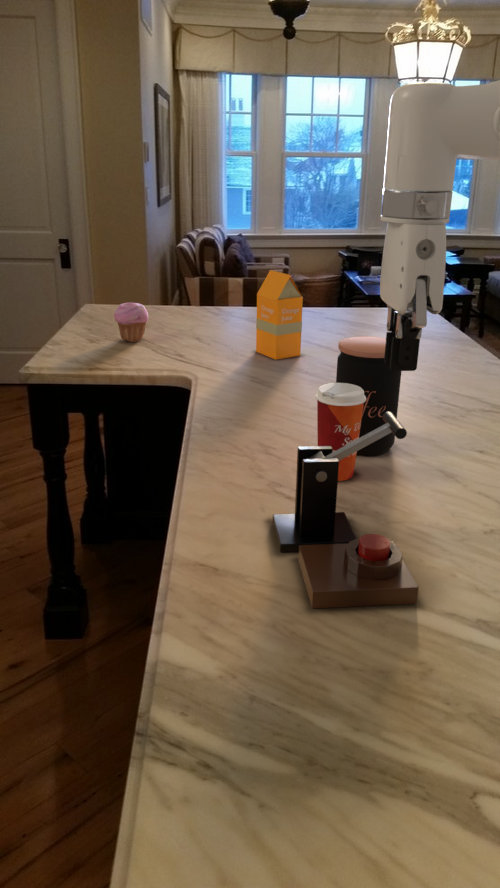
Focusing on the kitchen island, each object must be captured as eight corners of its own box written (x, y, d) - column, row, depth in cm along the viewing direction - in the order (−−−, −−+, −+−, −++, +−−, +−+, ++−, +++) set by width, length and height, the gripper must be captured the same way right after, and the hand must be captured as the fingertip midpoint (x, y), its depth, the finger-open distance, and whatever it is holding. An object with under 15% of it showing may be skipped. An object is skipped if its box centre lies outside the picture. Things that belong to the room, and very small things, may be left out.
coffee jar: (320, 447, 121) (326, 345, 114) (349, 429, 129) (356, 333, 122) (377, 462, 115) (387, 356, 108) (403, 442, 124) (414, 342, 117)
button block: (392, 556, 89) (395, 529, 87) (416, 603, 80) (420, 573, 78) (298, 560, 88) (299, 532, 86) (312, 608, 78) (313, 578, 77)
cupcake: (109, 339, 187) (107, 301, 184) (136, 334, 193) (135, 297, 189) (128, 346, 181) (126, 307, 178) (155, 340, 187) (154, 303, 183)
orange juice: (280, 347, 182) (282, 268, 174) (300, 355, 175) (304, 273, 168) (255, 351, 178) (256, 271, 170) (275, 359, 171) (277, 276, 164)
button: (384, 545, 84) (385, 532, 84) (392, 561, 81) (394, 548, 80) (354, 546, 84) (355, 534, 83) (362, 563, 81) (363, 549, 80)
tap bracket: (343, 519, 98) (349, 440, 93) (357, 549, 90) (364, 465, 86) (272, 521, 97) (274, 442, 92) (280, 552, 89) (283, 467, 85)
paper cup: (341, 488, 106) (347, 400, 101) (301, 473, 111) (305, 389, 106) (370, 472, 112) (377, 388, 106) (331, 459, 117) (336, 378, 111)
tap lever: (396, 421, 91) (388, 406, 91) (410, 438, 86) (402, 423, 85) (307, 469, 93) (299, 455, 92) (316, 489, 87) (307, 474, 87)
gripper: (475, 214, 71) (452, 387, 79) (425, 203, 86) (410, 350, 93) (403, 213, 71) (387, 388, 78) (365, 202, 85) (354, 350, 92)
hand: (399, 366), depth 85 cm, fingers closed
